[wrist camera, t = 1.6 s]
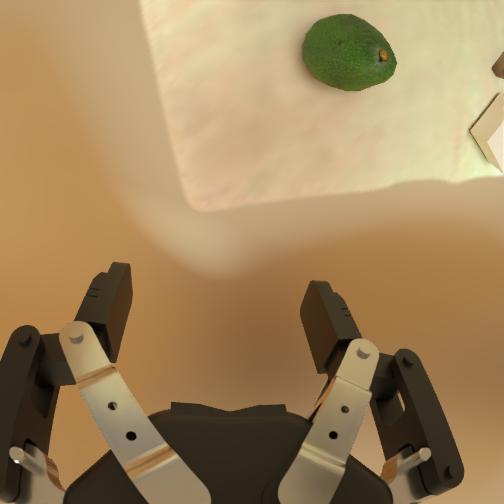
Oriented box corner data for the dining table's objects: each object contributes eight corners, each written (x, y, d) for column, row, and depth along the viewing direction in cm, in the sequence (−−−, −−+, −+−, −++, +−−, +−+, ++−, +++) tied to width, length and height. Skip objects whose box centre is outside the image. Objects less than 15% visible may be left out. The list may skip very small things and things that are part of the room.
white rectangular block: (497, 91, 24) (518, 101, 21) (513, 123, 27) (532, 135, 23) (467, 129, 29) (487, 141, 26) (485, 159, 32) (503, 173, 28)
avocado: (360, 87, 27) (410, 113, 18) (293, 78, 27) (317, 96, 18) (367, 25, 22) (423, 24, 13) (297, 13, 22) (325, -4, 13)
